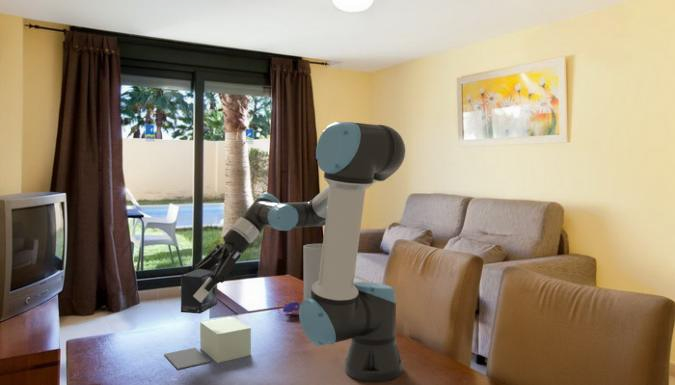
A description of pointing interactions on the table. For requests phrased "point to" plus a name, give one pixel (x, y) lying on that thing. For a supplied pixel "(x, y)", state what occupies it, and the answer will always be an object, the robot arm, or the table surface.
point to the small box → (191, 286)
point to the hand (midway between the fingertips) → (189, 295)
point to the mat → (186, 358)
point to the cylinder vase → (311, 266)
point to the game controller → (290, 307)
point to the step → (225, 339)
